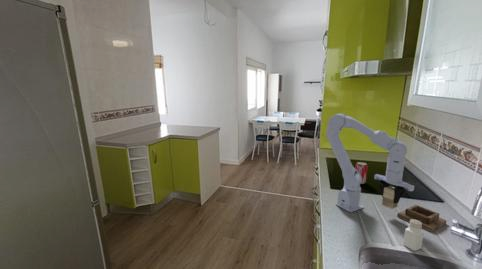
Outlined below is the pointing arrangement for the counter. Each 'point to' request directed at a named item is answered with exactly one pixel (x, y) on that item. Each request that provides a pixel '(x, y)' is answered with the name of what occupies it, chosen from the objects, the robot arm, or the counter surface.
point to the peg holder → (423, 217)
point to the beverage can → (362, 171)
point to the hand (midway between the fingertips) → (390, 200)
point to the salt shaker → (413, 235)
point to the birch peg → (389, 197)
